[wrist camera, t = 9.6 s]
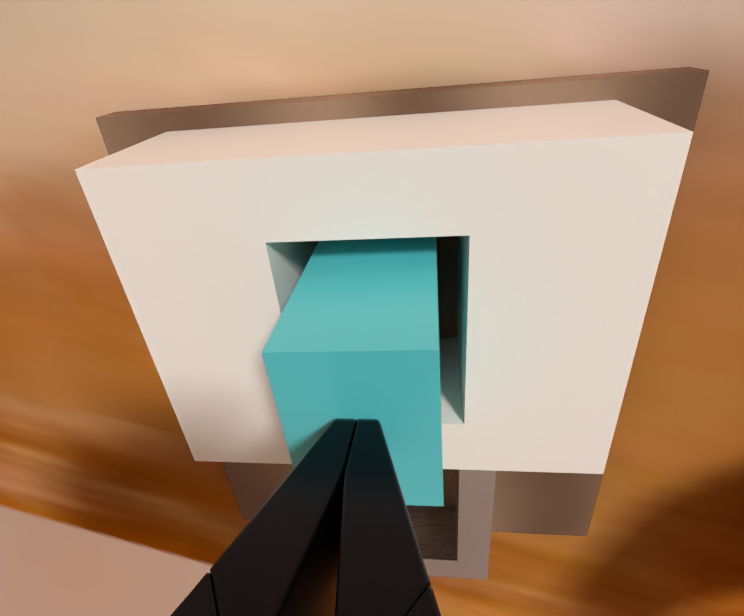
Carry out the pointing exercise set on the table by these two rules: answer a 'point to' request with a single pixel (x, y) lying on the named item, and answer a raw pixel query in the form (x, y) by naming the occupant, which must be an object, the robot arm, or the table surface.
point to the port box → (404, 220)
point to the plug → (365, 354)
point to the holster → (458, 528)
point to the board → (439, 240)
